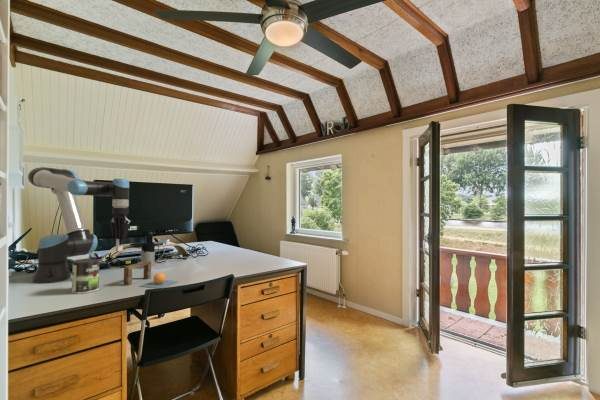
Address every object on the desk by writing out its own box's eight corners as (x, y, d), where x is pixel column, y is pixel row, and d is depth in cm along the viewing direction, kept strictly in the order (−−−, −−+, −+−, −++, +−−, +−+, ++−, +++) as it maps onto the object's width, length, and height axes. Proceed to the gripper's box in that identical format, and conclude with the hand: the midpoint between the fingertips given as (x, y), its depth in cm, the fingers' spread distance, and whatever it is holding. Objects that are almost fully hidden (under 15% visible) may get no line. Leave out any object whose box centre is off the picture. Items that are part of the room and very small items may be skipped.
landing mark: (139, 286, 141) (139, 285, 141) (158, 279, 154) (158, 279, 154) (160, 288, 137) (160, 288, 137) (178, 281, 150) (178, 281, 150)
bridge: (123, 284, 143) (123, 266, 143) (146, 277, 157) (146, 261, 157) (128, 285, 142) (128, 267, 142) (150, 278, 156) (151, 261, 156)
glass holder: (140, 266, 184) (141, 243, 185) (164, 264, 190) (165, 242, 191) (139, 269, 176) (139, 245, 177) (164, 267, 182) (165, 244, 183)
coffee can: (104, 288, 137) (105, 259, 137) (84, 294, 127) (85, 263, 127) (86, 286, 139) (87, 257, 139) (65, 292, 129) (66, 261, 129)
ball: (160, 284, 142) (152, 286, 143) (168, 281, 147) (160, 283, 149) (158, 273, 142) (149, 275, 144) (166, 271, 148) (158, 273, 149)
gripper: (104, 207, 152) (103, 251, 151) (123, 207, 148) (122, 252, 148) (117, 206, 159) (116, 248, 159) (135, 207, 155) (134, 250, 155)
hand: (119, 250), depth 153 cm, fingers closed
